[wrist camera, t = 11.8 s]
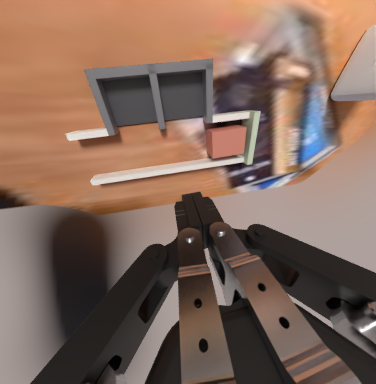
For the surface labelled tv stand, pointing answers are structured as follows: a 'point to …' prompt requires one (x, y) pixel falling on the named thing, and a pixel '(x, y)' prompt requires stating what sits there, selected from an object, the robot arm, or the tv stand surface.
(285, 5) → the tv stand surface
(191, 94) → the box
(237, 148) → the red block
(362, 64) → the photo printer
